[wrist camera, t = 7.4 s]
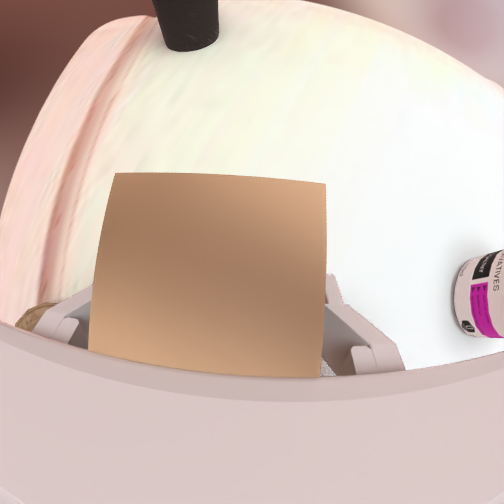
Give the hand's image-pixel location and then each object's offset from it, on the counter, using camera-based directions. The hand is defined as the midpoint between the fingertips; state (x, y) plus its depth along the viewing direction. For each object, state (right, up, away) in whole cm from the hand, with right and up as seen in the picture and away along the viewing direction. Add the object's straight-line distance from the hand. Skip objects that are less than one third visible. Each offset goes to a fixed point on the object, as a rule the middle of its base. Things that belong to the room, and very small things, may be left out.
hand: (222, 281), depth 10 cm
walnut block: (0, -2, +5) cm, 5 cm away
